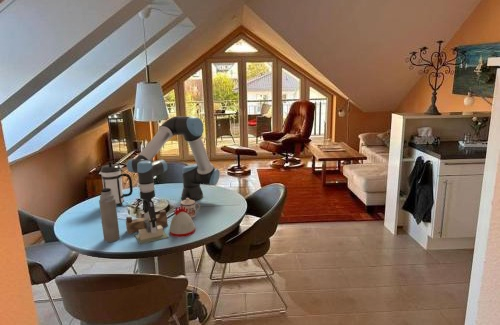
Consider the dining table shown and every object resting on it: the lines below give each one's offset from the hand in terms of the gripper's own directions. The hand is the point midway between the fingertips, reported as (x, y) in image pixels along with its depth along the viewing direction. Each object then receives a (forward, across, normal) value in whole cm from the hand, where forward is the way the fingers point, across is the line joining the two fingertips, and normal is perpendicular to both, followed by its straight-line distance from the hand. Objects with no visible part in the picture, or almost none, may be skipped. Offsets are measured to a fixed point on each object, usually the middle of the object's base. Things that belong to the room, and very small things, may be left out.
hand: (150, 228), depth 200 cm
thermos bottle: (+5, -9, -19) cm, 22 cm away
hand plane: (+5, -13, +1) cm, 14 cm away
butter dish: (+5, 0, 0) cm, 5 cm away
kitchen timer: (+5, +2, +17) cm, 18 cm away
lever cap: (0, 0, 0) cm, 0 cm away
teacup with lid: (+5, -18, +29) cm, 34 cm away
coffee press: (+5, -66, -7) cm, 67 cm away
